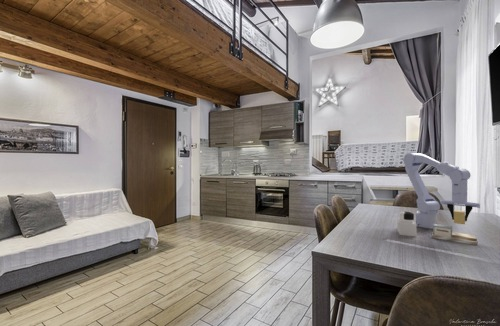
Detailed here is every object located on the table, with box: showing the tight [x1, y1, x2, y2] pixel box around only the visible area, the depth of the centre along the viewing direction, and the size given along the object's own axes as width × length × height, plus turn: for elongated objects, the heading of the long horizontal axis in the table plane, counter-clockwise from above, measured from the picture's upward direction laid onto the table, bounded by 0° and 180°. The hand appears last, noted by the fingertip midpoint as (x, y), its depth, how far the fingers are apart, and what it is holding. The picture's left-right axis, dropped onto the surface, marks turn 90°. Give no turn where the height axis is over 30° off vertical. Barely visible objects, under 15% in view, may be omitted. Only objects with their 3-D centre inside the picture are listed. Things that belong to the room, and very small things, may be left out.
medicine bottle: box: [396, 211, 418, 237], centre depth 118 cm, size 7×7×12 cm
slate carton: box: [432, 224, 453, 238], centre depth 113 cm, size 7×4×6 cm, turn 48°
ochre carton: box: [453, 209, 466, 225], centre depth 116 cm, size 7×4×6 cm, turn 138°
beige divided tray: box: [431, 231, 479, 246], centre depth 114 cm, size 16×18×2 cm
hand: (459, 220), depth 116 cm, fingers closed on ochre carton, 4 cm apart
